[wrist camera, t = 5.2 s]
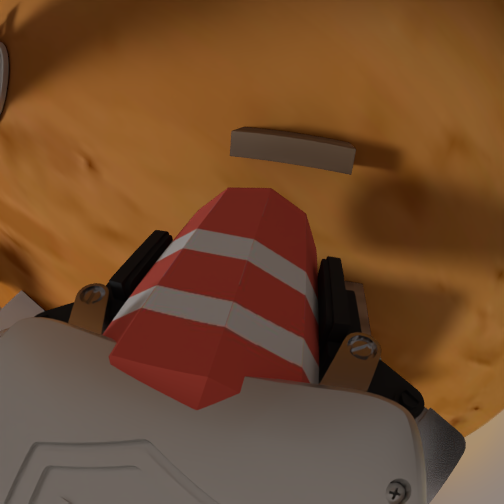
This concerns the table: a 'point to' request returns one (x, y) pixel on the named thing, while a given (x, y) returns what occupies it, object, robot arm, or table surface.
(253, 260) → the beverage can
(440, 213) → the table surface
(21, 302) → the milk carton
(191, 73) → the table surface
